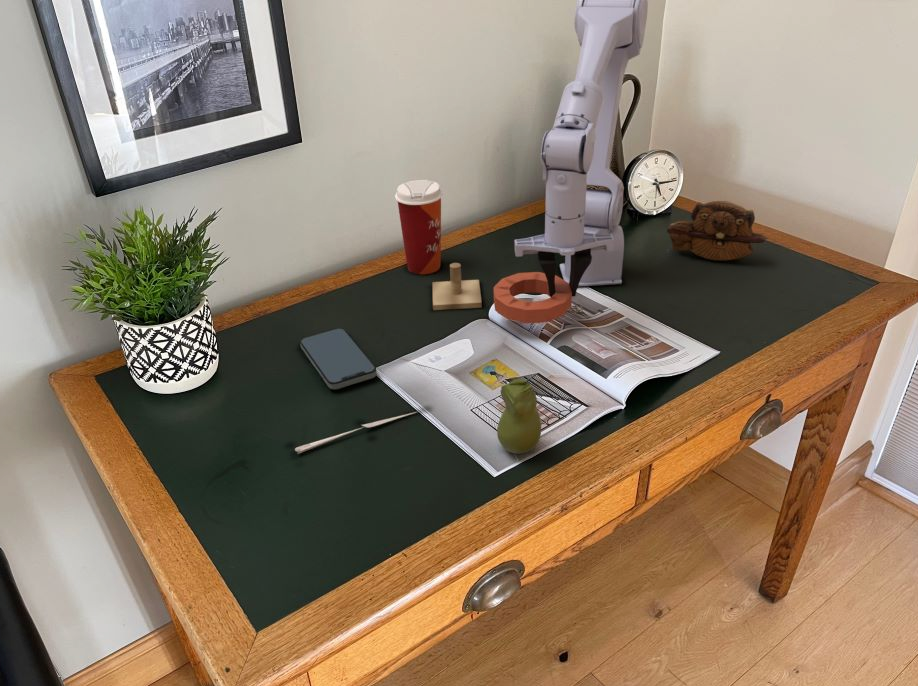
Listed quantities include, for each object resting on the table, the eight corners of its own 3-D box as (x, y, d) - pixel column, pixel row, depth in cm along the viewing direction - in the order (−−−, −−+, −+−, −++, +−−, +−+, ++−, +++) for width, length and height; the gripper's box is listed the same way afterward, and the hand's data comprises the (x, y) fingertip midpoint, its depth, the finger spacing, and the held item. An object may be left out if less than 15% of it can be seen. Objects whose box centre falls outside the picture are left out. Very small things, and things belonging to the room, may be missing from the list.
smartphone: (343, 326, 124) (378, 369, 113) (344, 335, 125) (380, 379, 114) (297, 339, 122) (329, 384, 110) (299, 348, 123) (330, 394, 111)
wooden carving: (662, 258, 139) (669, 205, 134) (666, 247, 143) (672, 195, 137) (761, 269, 134) (772, 214, 128) (762, 258, 137) (773, 204, 132)
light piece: (434, 410, 105) (299, 456, 99) (434, 416, 106) (300, 462, 99) (421, 395, 108) (289, 439, 102) (421, 401, 109) (290, 445, 102)
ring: (564, 283, 128) (564, 270, 126) (575, 320, 118) (576, 307, 117) (491, 287, 128) (491, 274, 126) (497, 325, 118) (497, 311, 117)
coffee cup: (446, 276, 139) (442, 195, 130) (400, 278, 139) (392, 197, 130) (446, 255, 145) (442, 177, 137) (402, 257, 146) (395, 179, 137)
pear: (547, 455, 98) (549, 390, 92) (509, 467, 97) (509, 402, 91) (527, 429, 102) (528, 366, 97) (490, 440, 101) (488, 377, 95)
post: (479, 284, 135) (478, 252, 132) (481, 307, 129) (481, 275, 125) (432, 287, 136) (430, 255, 132) (433, 310, 129) (431, 277, 126)
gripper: (517, 226, 111) (517, 309, 119) (620, 219, 111) (613, 303, 118) (513, 206, 117) (513, 287, 125) (611, 200, 116) (604, 281, 124)
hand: (561, 293), depth 122 cm, fingers closed on ring, 2 cm apart
